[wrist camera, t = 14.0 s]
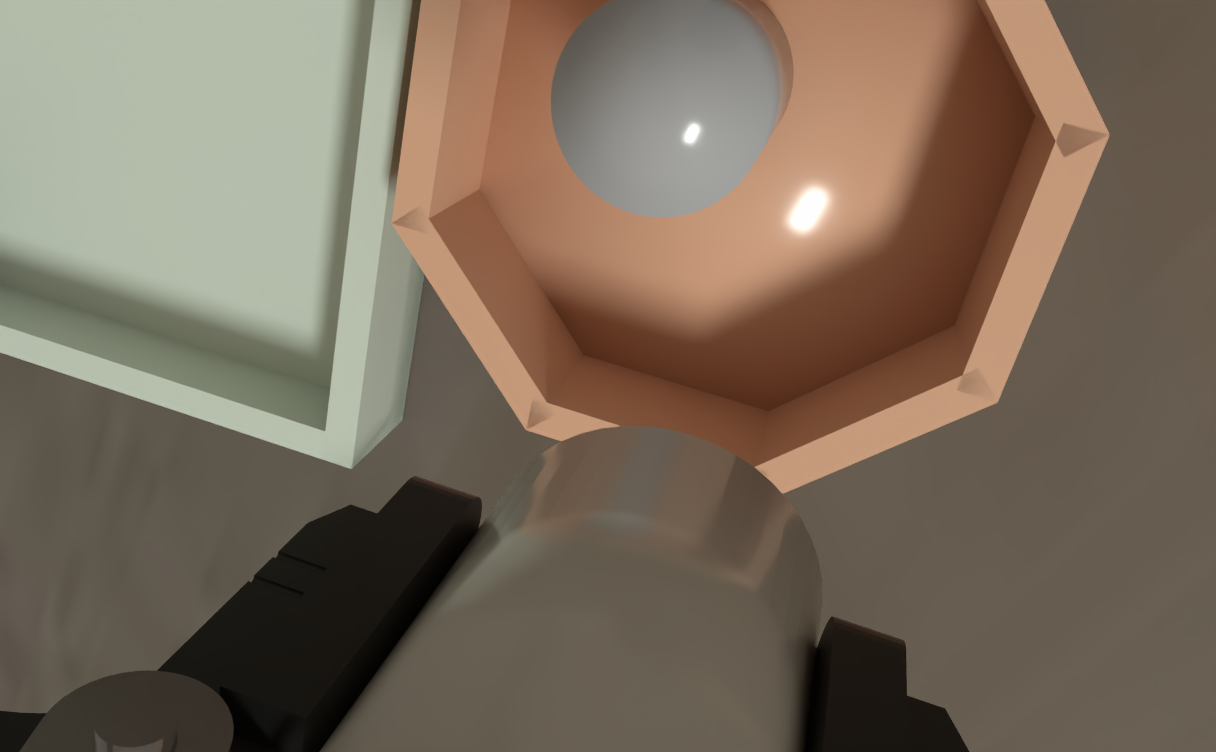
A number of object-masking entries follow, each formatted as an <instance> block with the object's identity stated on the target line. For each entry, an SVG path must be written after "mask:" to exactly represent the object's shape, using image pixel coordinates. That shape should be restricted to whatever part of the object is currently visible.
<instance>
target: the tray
mask: <svg viewBox="0 0 1216 752" xmlns="http://www.w3.org/2000/svg"><path fill="white" fill-rule="evenodd" d="M420 5H421V0H0V352H1V353H4V354H7V355H10V356H13V357H16V358H19V359H22V360H25V361H28V362H31V363H34V364H37V365H40V366H43V367H46V368H49V369H52V370H55V371H58V372H61V373H64V374H67V375H70V376H73V377H76V378H79V379H82V380H85V381H88V382H91V383H94V384H97V385H100V386H103V387H106V388H109V389H112V390H115V391H118V392H121V393H124V394H127V395H130V396H133V397H136V398H139V399H142V400H145V401H148V402H151V403H154V404H157V405H160V406H163V407H166V408H169V409H172V410H175V411H178V412H181V413H184V414H187V415H190V416H193V417H196V418H199V419H202V420H205V421H208V422H211V423H214V424H217V425H221V426H224V427H227V428H230V429H233V430H236V431H239V432H242V433H245V434H248V435H251V436H254V437H257V438H260V439H263V440H266V441H269V442H272V443H275V444H278V445H281V446H284V447H287V448H290V449H293V450H296V451H299V452H302V453H305V454H308V455H311V456H314V457H317V458H320V459H323V460H326V461H329V462H332V463H335V464H338V465H341V466H344V467H347V468H350V469H352V468H353V467H354V466H355V465H356V464H357V463H358V462H359V461H360V460H362V459H363V458H364V457H365V456H366V455H367V454H368V453H369V452H370V451H371V450H372V449H373V448H374V447H375V446H376V445H377V444H378V443H379V442H380V441H381V440H382V439H383V438H384V437H385V436H386V435H387V434H389V433H390V432H391V431H392V430H393V429H394V428H395V427H396V426H397V425H398V424H399V423H400V422H401V421H402V419H403V413H404V406H405V400H406V393H407V386H408V380H409V373H410V366H411V360H412V353H413V346H414V340H415V333H416V326H417V320H418V313H419V306H420V300H421V293H422V286H423V280H424V273H423V271H422V270H421V268H420V267H419V265H418V263H417V262H416V260H415V259H414V257H413V256H412V254H411V253H410V251H409V250H408V248H407V247H406V245H405V244H404V242H403V240H402V239H401V237H400V236H399V234H398V233H397V231H396V230H395V228H394V227H393V225H392V224H391V223H392V215H393V208H394V200H395V193H396V185H397V177H398V170H399V162H400V155H401V147H402V140H403V132H404V125H405V117H406V110H407V102H408V95H409V87H410V80H411V72H412V65H413V57H414V50H415V42H416V35H417V27H418V20H419V12H420Z"/></svg>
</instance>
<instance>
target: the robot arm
mask: <svg viewBox="0 0 1216 752" xmlns="http://www.w3.org/2000/svg"><path fill="white" fill-rule="evenodd" d="M481 510H482V503H481V499H480V498H479V497H476V496H473V495H470V494H467V493H464V492H461V491H458V490H455V489H452V488H449V487H446V486H443V485H440V484H437V483H434V482H431V481H428V480H425V479H422V478H419V477H416V476H415V477H412V478H410V479H409V480H408V481H407V482H406V483H405V484H404V485H403V486H402V487H401V488H400V490H399V491H398V492H397V493H396V494H395V495H394V496H393V497H392V498H391V499H390V501H389V502H388V503H387V504H386V505H385V506H384V507H383V508H382V509H381V510H380V511H379V513H378V514H377V513H374V512H371V511H368V510H365V509H362V508H359V507H356V506H353V505H349V506H347V507H344V508H342V509H340V510H337V511H335V512H333V513H330V514H328V515H325V516H323V517H321V518H318V519H316V520H314V521H311V522H309V523H307V524H306V525H305V526H304V527H303V528H302V529H301V530H300V531H299V532H298V533H297V534H296V535H295V536H294V537H293V538H292V539H291V540H290V541H289V542H288V543H287V544H286V545H285V546H284V547H283V548H282V549H281V550H280V551H279V553H278V556H277V557H276V558H274V557H273V558H272V559H271V560H269V561H268V562H267V563H266V564H265V565H264V566H263V567H262V568H261V569H260V570H259V571H258V572H257V573H256V574H255V575H254V579H253V581H252V582H249V581H248V582H247V583H246V584H245V585H244V586H243V587H242V588H241V589H240V590H239V591H238V592H237V593H236V594H235V595H234V596H233V597H232V598H231V599H230V600H229V601H228V602H227V603H226V604H225V605H224V606H223V607H221V608H220V609H219V610H218V611H217V612H216V613H215V614H214V615H213V616H212V617H211V618H210V619H209V620H208V621H207V622H206V623H205V624H204V625H203V626H202V627H201V628H200V629H199V630H198V631H197V632H196V633H195V634H194V635H193V636H192V637H191V638H190V639H189V640H188V641H187V642H186V643H185V644H184V645H183V646H182V647H181V648H180V649H179V650H178V651H177V652H176V653H175V654H174V655H172V656H171V657H170V658H169V659H168V660H167V661H166V662H165V663H164V664H163V665H162V666H161V667H160V668H159V669H158V670H157V671H134V672H125V673H120V674H116V675H111V676H107V677H104V678H101V679H98V680H95V681H92V682H90V683H88V684H86V685H84V686H82V687H80V688H78V689H76V690H74V691H73V692H71V693H70V694H68V695H67V696H65V697H63V698H62V699H61V700H60V701H59V702H58V703H56V704H55V705H54V706H53V707H52V708H51V709H50V710H49V711H48V712H47V713H42V714H40V713H18V712H7V711H0V752H319V751H320V750H321V749H322V747H323V746H324V744H325V743H326V742H327V740H328V739H329V738H330V736H331V735H332V733H333V732H334V731H335V729H336V728H337V726H338V725H339V724H340V722H341V721H342V719H343V718H344V717H345V715H346V714H347V712H348V711H349V710H350V708H351V707H352V705H353V704H354V703H355V701H356V700H357V698H358V697H359V696H360V694H361V693H362V691H363V690H364V689H365V687H366V686H367V684H368V683H369V682H370V680H371V679H372V677H373V676H374V675H375V673H376V672H377V670H378V669H379V668H380V666H381V665H382V663H383V662H384V661H385V659H386V658H387V656H388V655H389V654H390V652H391V651H392V649H393V648H394V647H395V645H396V644H397V642H398V641H399V640H400V638H401V637H402V635H403V634H404V633H405V631H406V630H407V628H408V627H409V626H410V624H411V623H412V622H413V620H414V619H415V617H416V616H417V615H418V613H419V612H420V610H421V609H422V608H423V606H424V605H425V603H426V602H427V601H428V599H429V598H430V596H431V595H432V594H433V592H434V591H435V589H436V588H437V587H438V585H439V584H440V582H441V581H442V580H443V578H444V577H445V575H446V574H447V573H448V571H449V570H450V568H451V567H452V566H453V564H454V563H455V561H456V560H457V559H458V557H459V556H460V554H461V553H462V552H463V550H464V549H465V547H466V546H467V545H468V543H469V542H470V540H471V539H472V538H473V536H474V535H475V533H476V532H477V531H478V528H479V523H480V518H481ZM806 752H969V750H968V749H967V747H966V745H965V743H964V741H963V740H962V738H961V736H960V734H959V733H958V731H957V729H956V727H955V725H954V724H953V722H952V720H951V718H950V717H949V715H948V713H947V711H946V709H945V708H942V707H939V706H936V705H933V704H930V703H927V702H924V701H921V700H918V699H915V698H912V697H909V696H907V677H906V645H905V642H904V640H901V639H898V638H895V637H892V636H889V635H886V634H883V633H880V632H877V631H874V630H871V629H868V628H865V627H862V626H859V625H856V624H853V623H850V622H847V621H844V620H841V619H838V618H835V617H831V618H830V619H829V621H828V623H827V625H826V627H825V629H824V631H823V634H822V636H821V639H820V641H819V644H818V647H817V651H816V660H815V669H814V678H813V688H812V697H811V706H810V715H809V724H808V733H807V742H806Z"/></svg>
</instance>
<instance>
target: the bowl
mask: <svg viewBox="0 0 1216 752" xmlns="http://www.w3.org/2000/svg"><path fill="white" fill-rule="evenodd" d="M609 1H611V0H421V5H420V12H419V20H418V27H417V35H416V42H415V50H414V57H413V65H412V72H411V80H410V87H409V95H408V102H407V110H406V117H405V125H404V132H403V140H402V147H401V155H400V162H399V170H398V177H397V185H396V193H395V200H394V208H393V215H392V223H391V224H392V225H393V227H394V228H395V230H396V231H397V233H398V234H399V236H400V237H401V239H402V240H403V242H404V244H405V245H406V247H407V248H408V250H409V251H410V253H411V254H412V256H413V257H414V259H415V260H416V262H417V263H418V265H419V267H420V268H421V270H422V271H423V273H424V274H425V276H426V277H427V279H428V280H429V282H430V283H431V285H432V286H433V288H434V290H435V291H436V293H437V294H438V296H439V297H440V299H441V300H442V302H443V303H444V305H445V306H446V308H447V309H448V311H449V313H450V314H451V316H452V317H453V319H454V320H455V322H456V323H457V325H458V326H459V328H460V329H461V331H462V333H463V334H464V336H465V337H466V339H467V340H468V342H469V343H470V345H471V346H472V348H473V349H474V351H475V352H476V354H477V356H478V357H479V359H480V360H481V362H482V363H483V365H484V366H485V368H486V369H487V371H488V372H489V374H490V375H491V377H492V379H493V380H494V382H495V383H496V385H497V386H498V388H499V389H500V391H501V392H502V394H503V395H504V397H505V398H506V400H507V402H508V403H509V405H510V406H511V408H512V409H513V411H514V412H515V414H516V415H517V417H518V418H519V420H520V421H521V423H522V425H523V426H524V428H525V429H526V430H528V431H531V432H534V433H537V434H540V435H543V436H546V437H550V438H553V439H556V440H559V441H564V440H566V439H569V438H571V437H574V436H576V435H579V434H581V433H585V432H589V431H593V430H597V429H601V428H610V427H618V426H649V427H657V428H664V429H671V430H675V431H678V432H682V433H686V434H690V435H694V436H696V437H699V438H701V439H704V440H707V441H709V442H712V443H714V444H716V445H718V446H720V447H722V448H724V449H726V450H728V451H730V452H732V453H734V454H735V455H737V456H739V457H740V458H741V459H743V460H744V461H746V462H747V463H749V464H750V465H752V466H753V467H755V468H756V469H757V470H758V471H759V472H761V473H762V474H763V475H764V476H765V477H766V478H767V479H769V480H770V481H771V482H772V483H773V484H774V485H775V486H776V487H777V488H778V490H779V491H780V492H781V493H782V494H783V493H786V492H788V491H790V490H793V489H795V488H797V487H800V486H802V485H804V484H807V483H809V482H811V481H814V480H816V479H818V478H821V477H823V476H826V475H828V474H830V473H833V472H835V471H837V470H840V469H842V468H844V467H847V466H849V465H851V464H854V463H856V462H859V461H861V460H863V459H866V458H868V457H870V456H873V455H875V454H877V453H880V452H882V451H884V450H887V449H889V448H892V447H894V446H896V445H899V444H901V443H903V442H906V441H908V440H910V439H913V438H915V437H917V436H920V435H922V434H924V433H927V432H929V431H932V430H934V429H936V428H939V427H941V426H943V425H946V424H948V423H950V422H953V421H955V420H957V419H960V418H962V417H965V416H967V415H969V414H972V413H974V412H976V411H979V410H981V409H983V408H986V407H988V406H990V405H993V404H995V403H997V402H998V400H999V398H1000V395H1001V393H1002V391H1003V388H1004V386H1005V383H1006V381H1007V379H1008V376H1009V374H1010V371H1011V369H1012V367H1013V364H1014V362H1015V360H1016V357H1017V355H1018V352H1019V350H1020V348H1021V345H1022V343H1023V340H1024V338H1025V336H1026V333H1027V331H1028V328H1029V326H1030V324H1031V321H1032V319H1033V317H1034V314H1035V312H1036V309H1037V307H1038V305H1039V302H1040V300H1041V297H1042V295H1043V293H1044V290H1045V288H1046V285H1047V283H1048V281H1049V278H1050V276H1051V274H1052V271H1053V269H1054V266H1055V264H1056V262H1057V259H1058V257H1059V254H1060V252H1061V250H1062V247H1063V245H1064V243H1065V240H1066V238H1067V235H1068V233H1069V231H1070V228H1071V226H1072V223H1073V221H1074V219H1075V216H1076V214H1077V211H1078V209H1079V207H1080V204H1081V202H1082V200H1083V197H1084V195H1085V192H1086V190H1087V188H1088V185H1089V183H1090V180H1091V178H1092V176H1093V173H1094V171H1095V168H1096V166H1097V164H1098V161H1099V159H1100V157H1101V154H1102V152H1103V149H1104V147H1105V145H1106V142H1107V140H1108V137H1109V135H1110V134H1109V132H1108V130H1107V128H1106V126H1105V124H1104V122H1103V120H1102V118H1101V116H1100V114H1099V112H1098V109H1097V107H1096V105H1095V103H1094V101H1093V99H1092V97H1091V95H1090V93H1089V91H1088V89H1087V87H1086V85H1085V83H1084V81H1083V79H1082V77H1081V74H1080V72H1079V70H1078V68H1077V66H1076V64H1075V62H1074V60H1073V58H1072V56H1071V54H1070V52H1069V50H1068V48H1067V46H1066V44H1065V42H1064V39H1063V37H1062V35H1061V33H1060V31H1059V29H1058V27H1057V25H1056V23H1055V21H1054V19H1053V17H1052V15H1051V13H1050V11H1049V9H1048V7H1047V4H1046V2H1045V0H760V1H761V2H762V3H764V4H765V5H766V6H767V7H768V8H769V9H770V11H771V12H772V13H773V14H774V15H775V17H776V18H777V20H778V21H779V23H780V24H781V26H782V28H783V30H784V32H785V34H786V36H787V39H788V42H789V45H790V48H791V53H792V58H793V69H794V75H793V87H792V92H791V97H790V100H789V103H788V106H787V109H786V111H785V113H784V115H783V117H782V119H781V121H780V123H779V124H778V126H777V127H776V129H775V131H774V132H773V134H772V136H771V137H770V139H769V140H768V142H767V144H766V145H765V147H764V149H763V150H762V152H761V153H760V155H759V157H758V158H757V160H756V162H755V163H754V165H753V166H752V168H751V169H750V171H749V172H748V174H747V175H746V176H745V177H744V179H743V180H742V181H741V182H740V183H739V185H738V186H736V187H735V188H734V189H733V190H732V191H731V192H730V193H729V194H728V195H726V196H725V197H723V198H722V199H720V200H719V201H718V202H716V203H714V204H712V205H710V206H708V207H706V208H704V209H702V210H699V211H697V212H694V213H691V214H687V215H682V216H677V217H665V218H660V217H647V216H642V215H636V214H633V213H630V212H627V211H624V210H621V209H619V208H617V207H615V206H613V205H611V204H609V203H607V202H606V201H604V200H603V199H601V198H600V197H598V196H597V195H596V194H594V193H593V192H592V191H591V190H590V189H588V188H587V187H586V186H585V185H584V184H583V182H582V181H581V180H580V179H579V178H578V177H577V176H576V174H575V173H574V172H573V170H572V169H571V167H570V166H569V164H568V163H567V161H566V159H565V157H564V155H563V154H562V151H561V149H560V146H559V144H558V141H557V139H556V135H555V131H554V127H553V122H552V115H551V89H552V81H553V77H554V73H555V68H556V65H557V63H558V60H559V57H560V55H561V53H562V51H563V49H564V47H565V45H566V43H567V41H568V40H569V38H570V37H571V35H572V34H573V33H574V31H575V30H576V28H577V27H578V26H579V25H580V24H581V23H582V22H583V21H584V20H585V19H586V18H587V17H588V16H589V15H590V14H592V13H593V12H594V11H595V10H596V9H598V8H599V7H601V6H603V5H604V4H606V3H608V2H609Z"/></svg>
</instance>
